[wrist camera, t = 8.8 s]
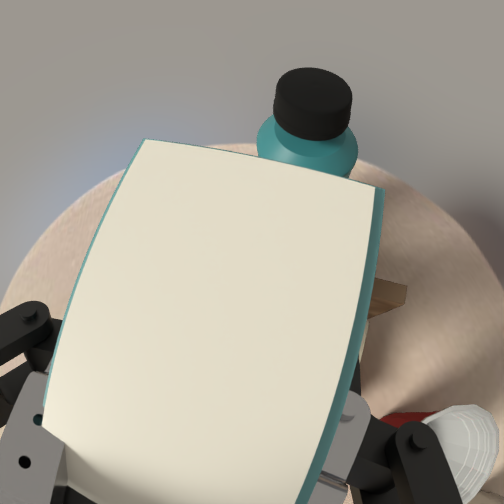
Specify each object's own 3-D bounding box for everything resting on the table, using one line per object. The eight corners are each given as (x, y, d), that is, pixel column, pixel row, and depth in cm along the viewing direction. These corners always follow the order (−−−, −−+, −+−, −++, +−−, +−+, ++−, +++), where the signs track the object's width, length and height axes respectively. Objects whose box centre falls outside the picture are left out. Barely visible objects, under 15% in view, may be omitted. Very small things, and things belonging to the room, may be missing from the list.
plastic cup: (324, 422, 25) (358, 461, 14) (415, 372, 26) (485, 374, 15) (357, 498, 22) (396, 554, 10) (441, 448, 23) (505, 474, 11)
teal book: (303, 305, 16) (389, 181, 4) (266, 428, 14) (267, 585, 2) (223, 284, 17) (139, 129, 5) (186, 403, 14) (26, 479, 3)
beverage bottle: (328, 262, 30) (402, 131, 12) (264, 270, 31) (257, 136, 12) (316, 206, 33) (357, 52, 14) (257, 212, 33) (243, 54, 14)
